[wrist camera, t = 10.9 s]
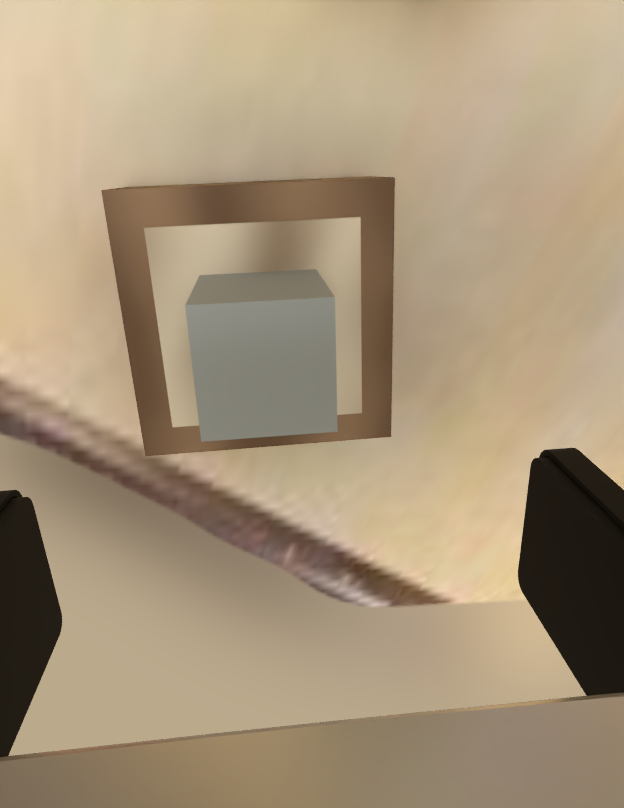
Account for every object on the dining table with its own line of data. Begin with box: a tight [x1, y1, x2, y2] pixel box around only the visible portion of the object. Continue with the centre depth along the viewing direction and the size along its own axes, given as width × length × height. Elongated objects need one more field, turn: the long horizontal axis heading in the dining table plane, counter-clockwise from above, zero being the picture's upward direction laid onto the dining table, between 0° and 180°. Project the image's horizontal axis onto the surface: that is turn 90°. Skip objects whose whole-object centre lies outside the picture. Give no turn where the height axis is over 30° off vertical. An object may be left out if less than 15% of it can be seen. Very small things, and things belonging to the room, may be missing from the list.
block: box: [185, 269, 338, 442], centre depth 23 cm, size 5×5×6 cm
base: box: [102, 177, 395, 456], centre depth 28 cm, size 12×12×5 cm
